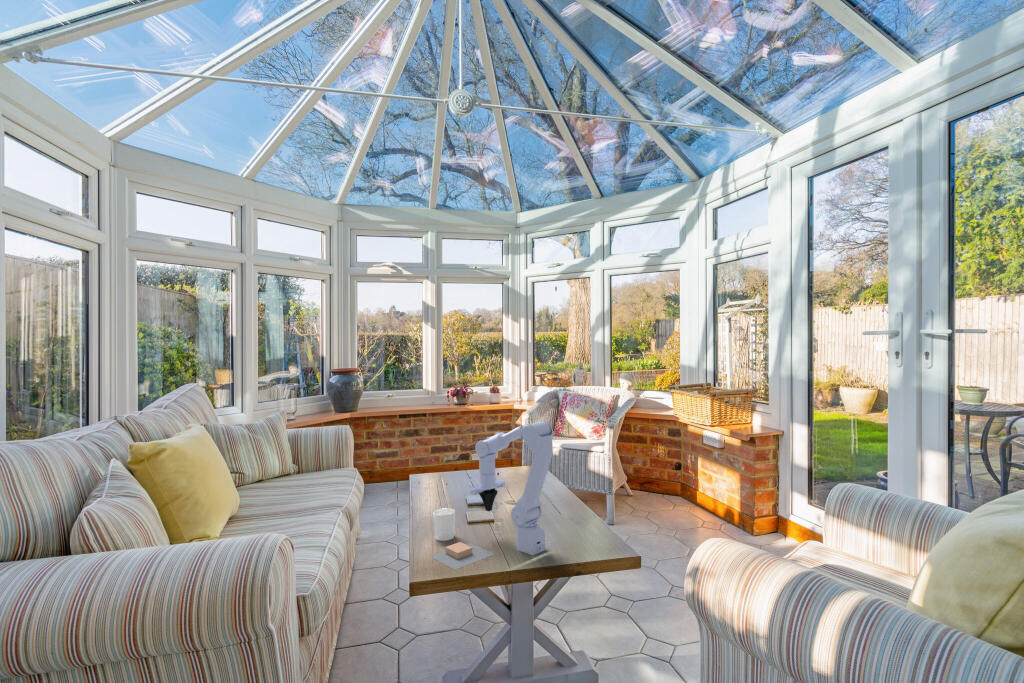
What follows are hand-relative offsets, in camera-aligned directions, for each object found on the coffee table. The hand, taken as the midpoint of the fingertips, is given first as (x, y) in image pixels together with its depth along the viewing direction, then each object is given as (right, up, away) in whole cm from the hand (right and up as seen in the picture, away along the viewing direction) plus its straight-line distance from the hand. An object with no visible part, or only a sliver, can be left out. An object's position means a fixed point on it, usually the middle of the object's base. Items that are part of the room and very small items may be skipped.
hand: (488, 510), depth 178 cm
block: (-7, -8, -13) cm, 17 cm away
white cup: (-16, -11, 0) cm, 19 cm away
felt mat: (-8, -10, -17) cm, 21 cm away
